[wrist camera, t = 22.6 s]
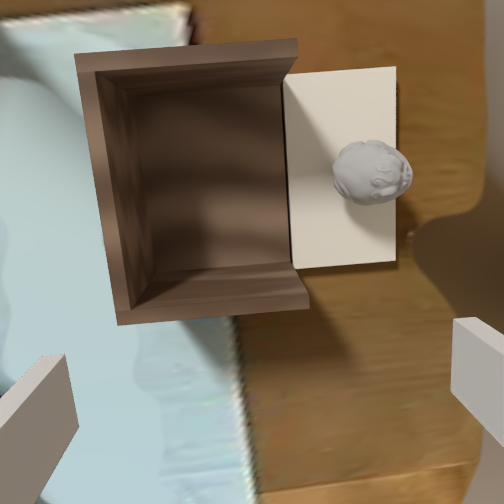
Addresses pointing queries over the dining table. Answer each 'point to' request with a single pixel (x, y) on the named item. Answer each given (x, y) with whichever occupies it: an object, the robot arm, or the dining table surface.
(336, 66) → the dining table surface
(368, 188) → the white sculpted head
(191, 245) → the crate
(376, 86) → the panel
